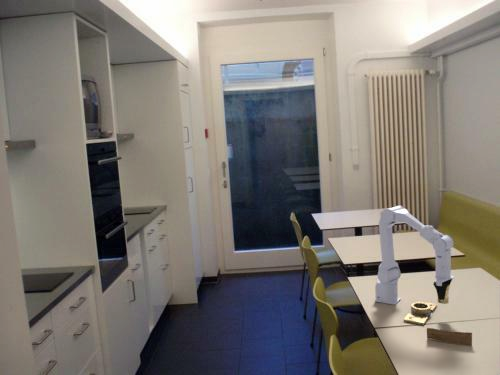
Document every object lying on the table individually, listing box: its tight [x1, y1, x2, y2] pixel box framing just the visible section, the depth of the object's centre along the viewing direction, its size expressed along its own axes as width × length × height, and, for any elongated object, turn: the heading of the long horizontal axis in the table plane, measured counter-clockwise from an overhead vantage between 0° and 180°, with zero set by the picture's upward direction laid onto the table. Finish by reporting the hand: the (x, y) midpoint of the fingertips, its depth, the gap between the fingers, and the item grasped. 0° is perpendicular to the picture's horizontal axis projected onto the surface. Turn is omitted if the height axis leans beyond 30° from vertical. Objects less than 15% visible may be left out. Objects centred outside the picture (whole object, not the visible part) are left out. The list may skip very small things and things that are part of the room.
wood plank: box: [426, 327, 473, 347], centre depth 174 cm, size 15×2×5 cm, turn 65°
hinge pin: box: [437, 285, 451, 305], centre depth 194 cm, size 5×5×7 cm
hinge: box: [403, 300, 438, 326], centre depth 200 cm, size 8×22×4 cm, turn 146°
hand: (442, 297), depth 194 cm, fingers closed on hinge pin, 5 cm apart
